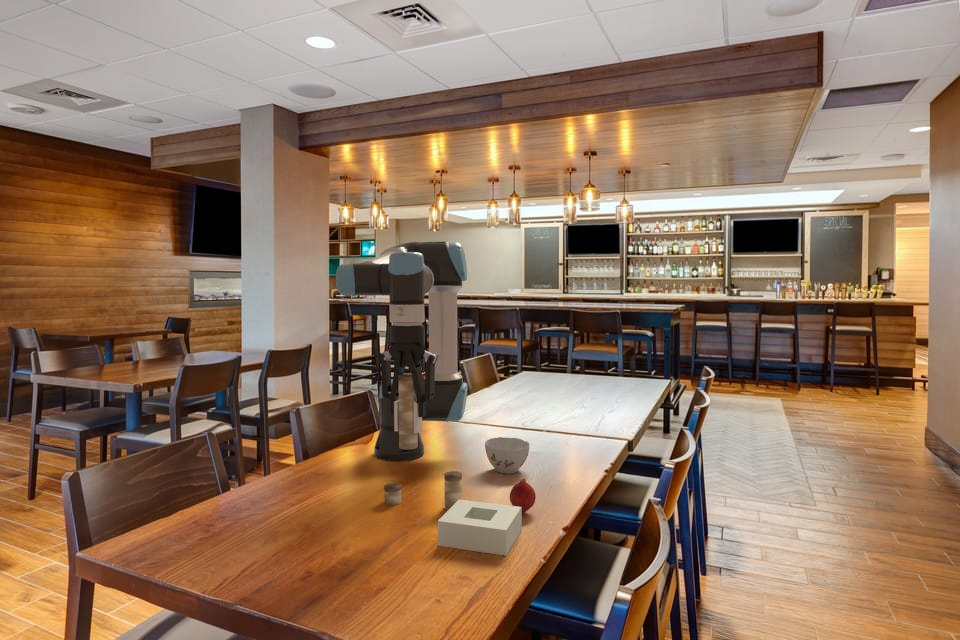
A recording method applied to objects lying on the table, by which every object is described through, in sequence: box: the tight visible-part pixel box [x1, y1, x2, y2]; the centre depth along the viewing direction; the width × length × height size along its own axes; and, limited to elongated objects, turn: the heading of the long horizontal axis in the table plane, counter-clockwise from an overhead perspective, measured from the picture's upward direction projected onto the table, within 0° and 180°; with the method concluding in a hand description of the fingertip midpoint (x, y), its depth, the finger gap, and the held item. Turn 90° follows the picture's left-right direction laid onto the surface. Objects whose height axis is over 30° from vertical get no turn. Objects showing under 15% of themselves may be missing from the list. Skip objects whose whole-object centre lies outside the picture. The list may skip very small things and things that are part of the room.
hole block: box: [437, 499, 523, 557], centre depth 115 cm, size 14×12×5 cm
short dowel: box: [383, 482, 402, 506], centre depth 135 cm, size 4×4×4 cm
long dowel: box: [398, 372, 418, 450], centre depth 124 cm, size 4×4×16 cm
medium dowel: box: [443, 470, 463, 512], centre depth 131 cm, size 4×4×8 cm
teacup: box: [484, 436, 530, 475], centre depth 159 cm, size 15×12×8 cm
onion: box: [509, 477, 537, 514], centre depth 128 cm, size 6×6×8 cm
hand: (408, 430), depth 124 cm, fingers closed on long dowel, 4 cm apart
